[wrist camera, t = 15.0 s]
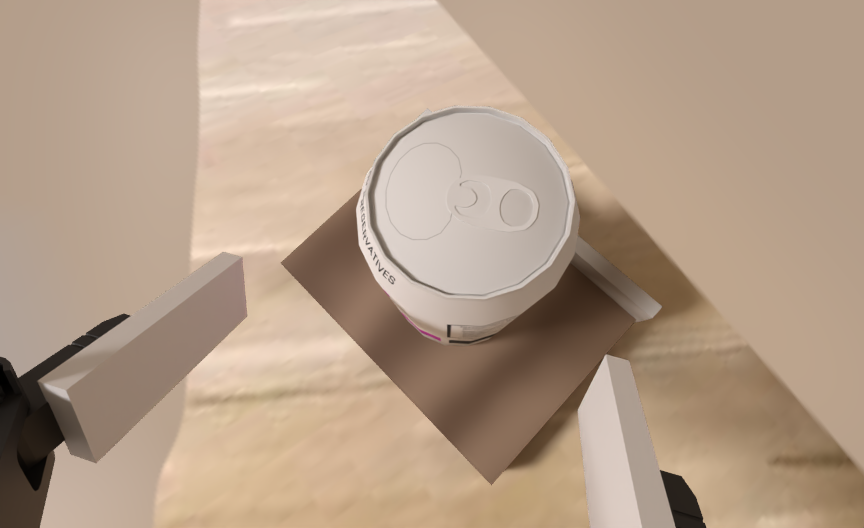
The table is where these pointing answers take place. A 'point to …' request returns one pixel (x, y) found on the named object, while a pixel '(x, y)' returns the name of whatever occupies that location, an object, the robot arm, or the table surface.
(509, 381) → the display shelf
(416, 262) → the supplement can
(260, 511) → the table surface
